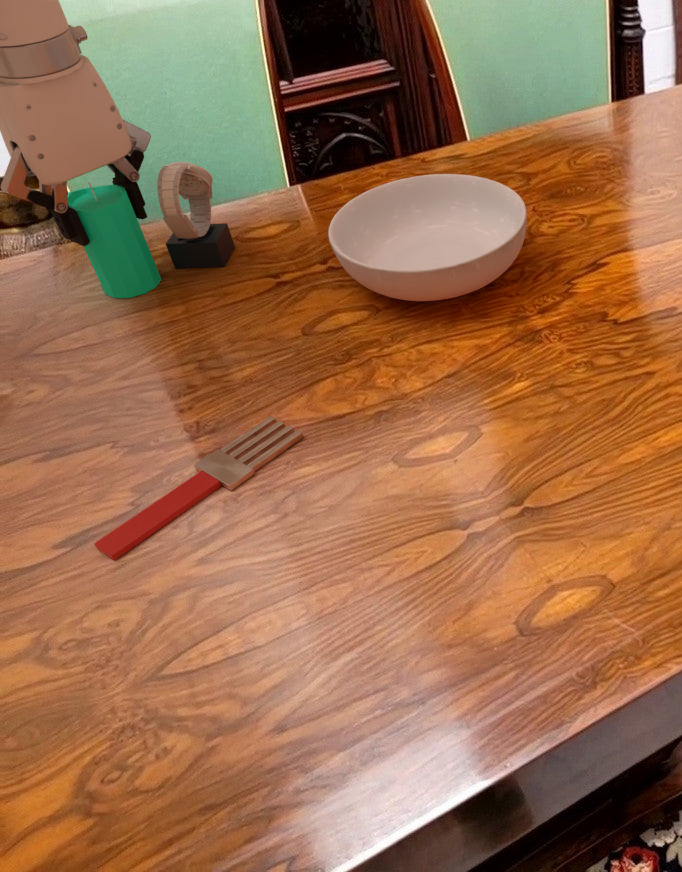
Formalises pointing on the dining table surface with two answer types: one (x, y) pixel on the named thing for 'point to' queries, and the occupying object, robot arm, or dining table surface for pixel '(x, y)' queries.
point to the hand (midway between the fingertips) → (108, 227)
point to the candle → (115, 241)
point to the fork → (205, 482)
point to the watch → (192, 218)
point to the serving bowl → (429, 235)
